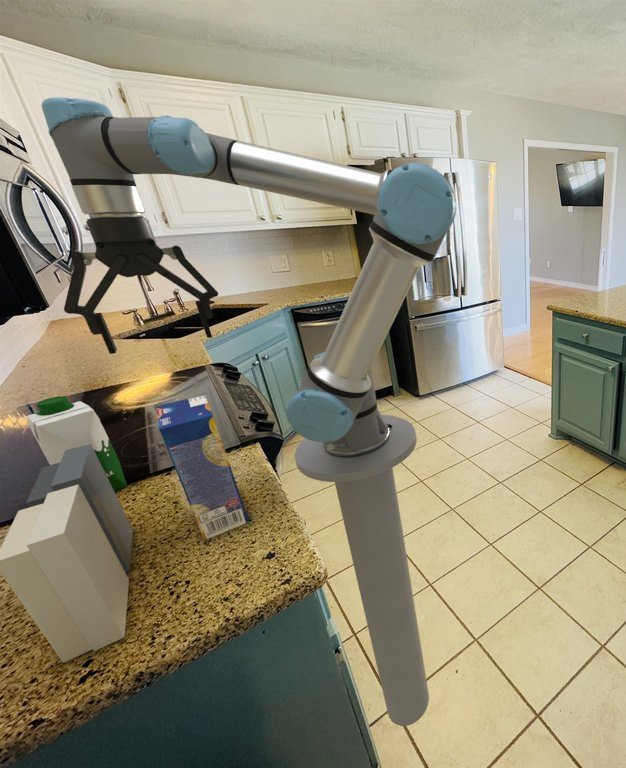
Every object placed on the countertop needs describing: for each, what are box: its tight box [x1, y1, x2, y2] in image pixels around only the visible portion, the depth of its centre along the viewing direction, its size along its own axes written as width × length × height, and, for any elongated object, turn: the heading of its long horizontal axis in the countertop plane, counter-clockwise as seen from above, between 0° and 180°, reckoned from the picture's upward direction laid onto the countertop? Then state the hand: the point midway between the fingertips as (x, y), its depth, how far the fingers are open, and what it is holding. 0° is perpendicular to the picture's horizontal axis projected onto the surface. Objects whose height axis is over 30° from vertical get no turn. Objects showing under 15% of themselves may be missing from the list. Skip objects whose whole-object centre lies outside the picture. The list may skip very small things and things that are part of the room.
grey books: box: [25, 444, 134, 574], centre depth 63 cm, size 6×12×18 cm, turn 39°
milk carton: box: [26, 395, 128, 492], centre depth 80 cm, size 9×9×20 cm
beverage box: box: [155, 394, 250, 541], centre depth 72 cm, size 7×11×22 cm, turn 41°
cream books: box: [0, 485, 130, 664], centre depth 53 cm, size 6×12×18 cm, turn 39°
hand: (164, 343), depth 73 cm, fingers open, 13 cm apart
